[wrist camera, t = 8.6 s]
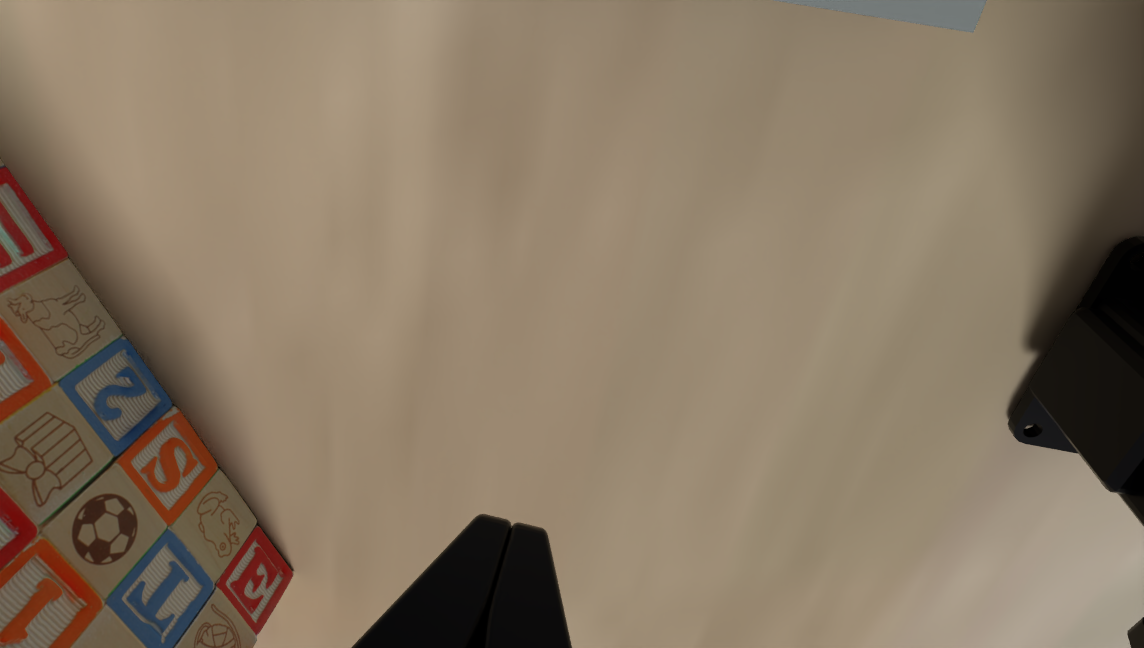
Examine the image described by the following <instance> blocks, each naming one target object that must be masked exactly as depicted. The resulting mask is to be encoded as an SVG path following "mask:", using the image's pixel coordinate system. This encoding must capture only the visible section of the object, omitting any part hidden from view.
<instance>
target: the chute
mask: <svg viewBox="0 0 1144 648" xmlns="http://www.w3.org/2000/svg"><path fill="white" fill-rule="evenodd" d="M775 1H781V2H787V3H793V4H799V5H805V6H812V7H818V8H824V9H830V10H836V11H842V12H849V13H855V14H861V15H867V16H873V17H879V18H886V19H892V20H898V21H904V22H910V23H916V24H923V25H929V26H935V27H941V28H947V29H953V30H960V31H966V32H972V33H973V32H974V30H975V27H976V25H977V23H978V20H979V18H980V15H981V13H982V11H983V8H984V6H985V3H986V1H987V0H775Z"/></svg>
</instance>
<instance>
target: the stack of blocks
mask: <svg viewBox="0 0 1144 648" xmlns="http://www.w3.org/2000/svg"><path fill="white" fill-rule="evenodd" d="M256 523H257V519H256V518H255V516H254V515H253V513H252V512H251V510H250V509H249V508H248V506H247V505H246V503H245V502H244V501H243V499H242V498H241V496H240V495H239V493H238V492H237V490H236V489H235V488H234V486H233V485H232V483H231V482H230V481H229V479H228V478H227V477H226V476H225V474H224V473H223V472H222V471H221V470H220V469H218V467H217V463H216V462H215V460H214V458H213V457H212V455H211V454H210V452H209V451H208V450H207V448H206V447H205V446H204V444H203V443H202V441H201V440H200V439H199V437H198V436H197V434H196V433H195V431H194V430H193V428H192V427H191V425H190V424H189V423H188V421H187V420H186V418H185V417H184V416H183V414H182V413H181V411H180V410H179V408H177V407H175V406H173V405H172V402H171V400H170V398H169V397H168V395H167V394H166V392H165V391H164V390H163V388H162V387H161V385H160V384H159V383H158V381H157V380H156V379H155V377H154V376H153V374H152V373H151V371H150V370H149V369H148V368H147V366H146V365H145V363H144V362H143V360H142V359H141V357H140V356H139V355H138V353H137V352H136V351H135V349H134V348H133V346H132V345H131V343H130V342H129V340H128V339H126V338H125V337H124V336H123V335H122V333H121V331H120V329H119V327H118V326H117V325H116V323H115V322H114V321H113V319H112V318H111V316H110V315H109V314H108V312H107V311H106V309H105V308H104V307H103V305H102V304H101V303H100V301H99V299H98V298H97V297H96V295H95V294H94V293H93V291H92V290H91V289H90V287H89V286H88V284H87V283H86V281H85V280H84V279H83V277H82V276H81V274H80V273H79V272H78V270H77V269H76V267H75V266H74V265H73V263H72V262H71V261H70V260H69V258H68V254H67V252H66V250H65V249H64V248H63V246H62V245H61V244H60V242H59V241H58V239H57V238H56V236H55V235H54V233H53V232H52V231H51V229H50V228H49V226H48V225H47V224H46V222H45V221H44V220H43V218H42V217H41V215H40V214H39V213H38V211H37V210H36V208H35V207H34V205H33V204H32V203H31V201H30V200H29V198H28V197H27V195H26V194H25V193H24V191H23V190H22V188H21V187H20V186H19V184H18V183H17V182H16V180H15V179H14V177H13V176H12V175H11V173H10V172H9V170H8V169H7V168H6V167H5V165H4V164H3V162H2V160H1V158H0V648H253V646H254V645H255V643H256V641H257V635H258V634H259V633H260V631H261V629H262V628H263V626H264V625H265V623H266V622H267V620H268V618H269V616H270V615H271V613H272V612H273V610H274V608H275V607H276V605H277V603H278V602H279V600H280V598H281V597H282V595H283V593H284V591H285V590H286V588H287V586H288V584H289V583H290V581H291V579H292V577H293V575H294V574H293V572H292V570H291V569H290V568H289V566H288V565H287V564H286V562H285V561H284V560H283V558H282V557H281V556H280V554H279V553H278V552H277V550H276V549H275V548H274V546H273V545H272V543H271V542H270V541H269V539H268V538H267V537H266V535H265V534H264V533H263V531H262V530H261V528H260V527H259V526H257V525H256Z"/></svg>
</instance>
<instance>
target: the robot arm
mask: <svg viewBox="0 0 1144 648" xmlns="http://www.w3.org/2000/svg"><path fill="white" fill-rule="evenodd" d="M1141 252H1144V237H1132V238H1129V239H1126V240H1124V241H1123V242H1121V243H1119V244H1118V245H1117V246H1116V247H1115V248H1114V250H1113V251H1112V252H1111V254H1110V255H1109V257H1108V259H1107V260H1106V262H1105V264H1104V265H1103V267H1102V269H1101V270H1100V272H1099V273H1098V275H1097V277H1096V278H1095V280H1094V282H1093V283H1092V285H1091V287H1090V288H1089V290H1088V291H1087V293H1086V295H1085V296H1084V298H1083V300H1082V301H1081V303H1080V305H1079V306H1078V308H1077V309H1076V311H1075V312H1074V313H1073V314H1072V315H1071V317H1070V318H1069V320H1068V321H1067V323H1066V325H1065V326H1064V328H1063V330H1062V331H1061V333H1060V335H1059V336H1058V338H1057V339H1056V341H1055V343H1054V344H1053V346H1052V348H1051V349H1050V351H1049V353H1048V354H1047V356H1046V358H1045V359H1044V361H1043V362H1042V364H1041V366H1040V367H1039V369H1038V371H1037V372H1036V374H1035V376H1034V377H1033V379H1032V380H1031V382H1030V384H1029V388H1028V390H1027V391H1026V393H1025V394H1024V396H1023V398H1022V399H1021V401H1020V403H1019V404H1018V406H1017V408H1016V409H1015V411H1014V412H1013V414H1012V416H1011V417H1010V419H1009V422H1008V427H1009V430H1010V431H1011V433H1012V434H1013V436H1014V437H1015V438H1016V439H1017V440H1018V441H1019V442H1022V443H1024V444H1030V445H1035V446H1040V447H1046V448H1051V449H1057V450H1062V451H1067V452H1073V453H1078V454H1080V456H1081V457H1082V458H1083V460H1084V461H1085V462H1086V464H1087V465H1088V466H1089V467H1090V469H1091V470H1092V471H1093V473H1094V474H1095V475H1096V477H1097V478H1098V479H1099V480H1100V482H1101V483H1102V484H1103V486H1104V487H1105V488H1106V489H1107V490H1109V491H1110V492H1114V493H1118V494H1119V496H1120V497H1121V498H1122V500H1123V501H1124V502H1125V503H1126V505H1127V506H1128V507H1129V508H1130V510H1131V511H1132V512H1133V514H1134V515H1135V516H1136V517H1137V519H1138V520H1139V521H1140V522H1141V524H1142V525H1143V526H1144V254H1143V257H1142V258H1141V259H1140V260H1139V261H1137V262H1134V263H1131V264H1130V261H1131V259H1132V258H1133V257H1134V256H1135V255H1136V254H1139V253H1141ZM1030 424H1035V425H1034V426H1033V427H1030V428H1028V429H1024V428H1025V427H1026V426H1028V425H1030ZM1128 638H1129V641H1130V645H1131V648H1144V617H1143V618H1142V619H1141V620H1140V621H1139V622H1137V623H1136V624H1135V625H1134V626H1133V627H1132V628H1131V629H1130V630H1128ZM352 648H572V646H571V641H570V636H569V632H568V627H567V622H566V618H565V613H564V608H563V604H562V599H561V594H560V590H559V585H558V580H557V576H556V571H555V566H554V562H553V557H552V552H551V548H550V543H549V538H548V535H547V532H546V531H545V530H544V529H543V528H540V527H536V526H532V525H528V524H523V523H515V524H514V525H513V526H512V528H511V523H510V522H509V520H507V519H503V518H499V517H494V516H490V515H486V514H480V515H478V516H477V517H475V518H474V519H473V520H472V521H471V522H470V523H469V524H468V526H467V527H466V528H465V529H464V530H463V531H462V532H461V533H460V534H459V535H458V536H457V537H456V538H455V539H454V540H453V541H452V542H451V543H450V544H449V546H448V547H447V548H446V549H445V550H444V551H443V552H442V553H441V554H440V555H439V556H438V557H437V558H436V559H435V560H434V561H433V562H432V563H431V564H430V566H429V567H428V568H427V569H426V570H425V571H424V572H423V573H422V574H421V575H420V576H419V577H418V578H417V579H416V580H415V581H414V582H413V583H412V584H411V585H410V587H409V588H408V589H407V590H406V591H405V592H404V593H403V594H402V595H401V596H400V597H399V598H398V599H397V600H396V601H395V602H394V603H393V604H392V605H391V607H390V608H389V609H388V610H387V611H386V612H385V613H384V614H383V615H382V616H381V617H380V618H379V619H378V620H377V621H376V622H375V623H374V624H373V625H372V627H371V628H370V629H369V630H368V631H367V632H366V633H365V634H364V635H363V636H362V637H361V638H360V639H359V640H358V641H357V642H356V643H355V644H354V645H353V646H352Z"/></svg>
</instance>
